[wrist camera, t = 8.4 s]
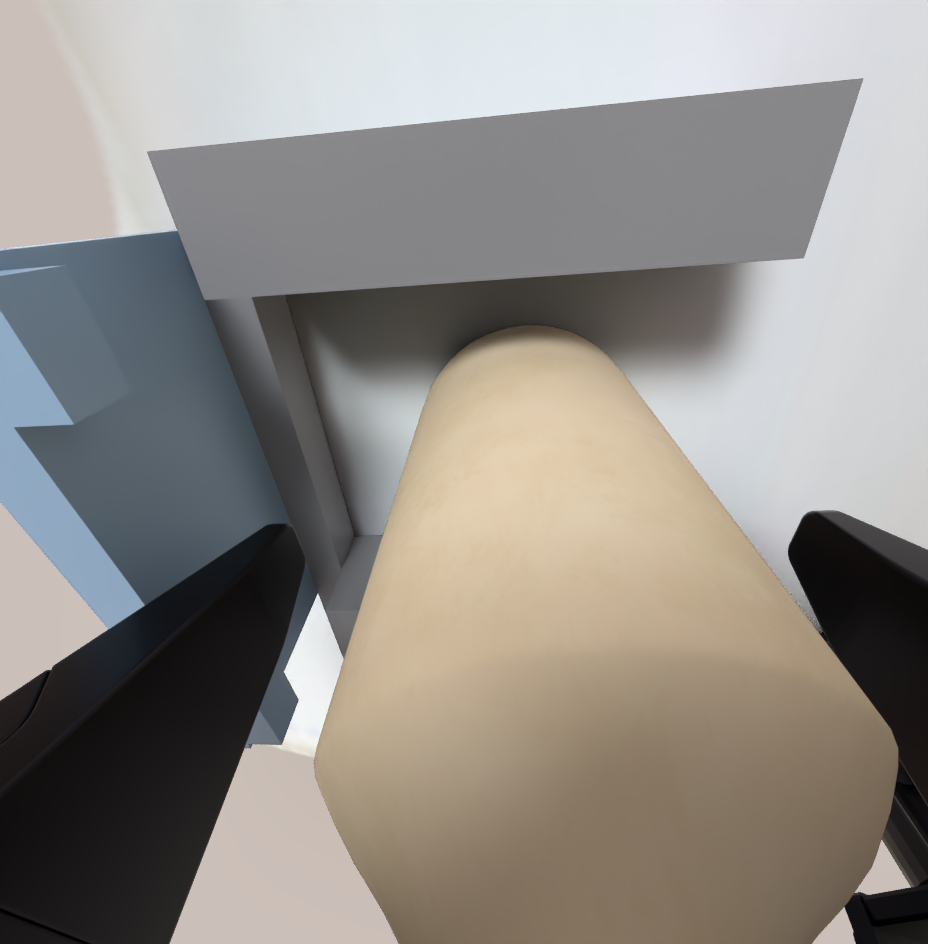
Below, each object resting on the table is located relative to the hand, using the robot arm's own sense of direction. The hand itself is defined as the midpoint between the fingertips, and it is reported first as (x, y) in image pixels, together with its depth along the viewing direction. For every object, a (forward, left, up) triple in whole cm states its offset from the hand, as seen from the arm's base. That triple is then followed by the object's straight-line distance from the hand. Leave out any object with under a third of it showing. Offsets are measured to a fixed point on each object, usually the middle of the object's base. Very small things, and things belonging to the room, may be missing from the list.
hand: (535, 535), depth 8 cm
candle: (0, 0, -5) cm, 5 cm away
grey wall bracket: (-3, +4, -5) cm, 7 cm away
